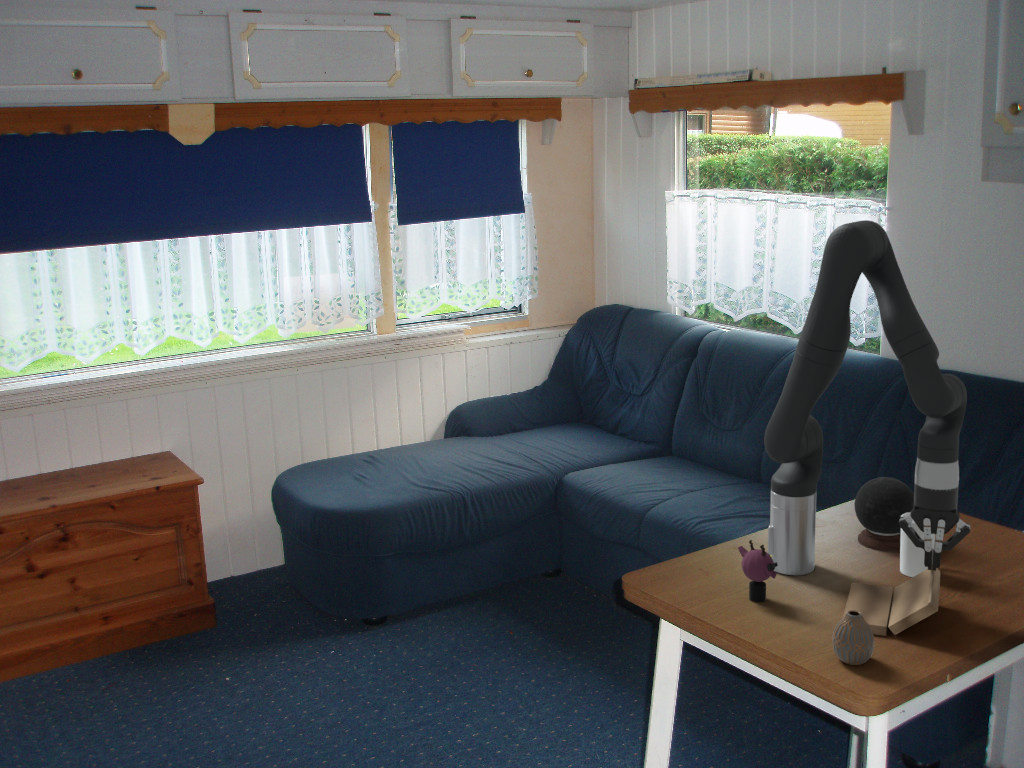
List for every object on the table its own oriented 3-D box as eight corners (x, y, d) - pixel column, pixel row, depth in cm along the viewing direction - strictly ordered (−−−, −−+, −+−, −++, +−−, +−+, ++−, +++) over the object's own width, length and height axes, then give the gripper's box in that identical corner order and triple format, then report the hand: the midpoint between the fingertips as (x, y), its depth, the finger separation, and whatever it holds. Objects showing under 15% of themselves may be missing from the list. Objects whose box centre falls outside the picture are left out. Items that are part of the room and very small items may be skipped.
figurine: (776, 609, 192) (777, 551, 190) (734, 605, 195) (735, 548, 192) (778, 592, 200) (779, 536, 197) (737, 588, 202) (738, 533, 200)
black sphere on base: (846, 547, 221) (849, 482, 218) (860, 527, 232) (863, 466, 229) (909, 557, 214) (912, 491, 211) (920, 536, 225) (923, 473, 222)
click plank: (894, 635, 179) (887, 625, 180) (900, 595, 195) (894, 586, 196) (937, 611, 175) (930, 601, 176) (940, 572, 191) (933, 563, 191)
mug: (923, 581, 202) (926, 526, 199) (892, 572, 207) (894, 518, 204) (946, 567, 208) (949, 513, 206) (915, 558, 213) (918, 505, 211)
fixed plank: (841, 629, 183) (842, 620, 183) (851, 590, 199) (852, 582, 199) (886, 635, 180) (886, 626, 180) (892, 595, 196) (893, 587, 196)
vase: (880, 667, 169) (882, 620, 167) (841, 671, 169) (842, 623, 167) (863, 648, 176) (865, 603, 174) (825, 651, 175) (826, 605, 173)
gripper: (897, 484, 184) (893, 572, 188) (975, 491, 179) (970, 581, 182) (899, 472, 191) (896, 557, 194) (975, 478, 185) (970, 565, 189)
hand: (932, 568), depth 188 cm, fingers closed
